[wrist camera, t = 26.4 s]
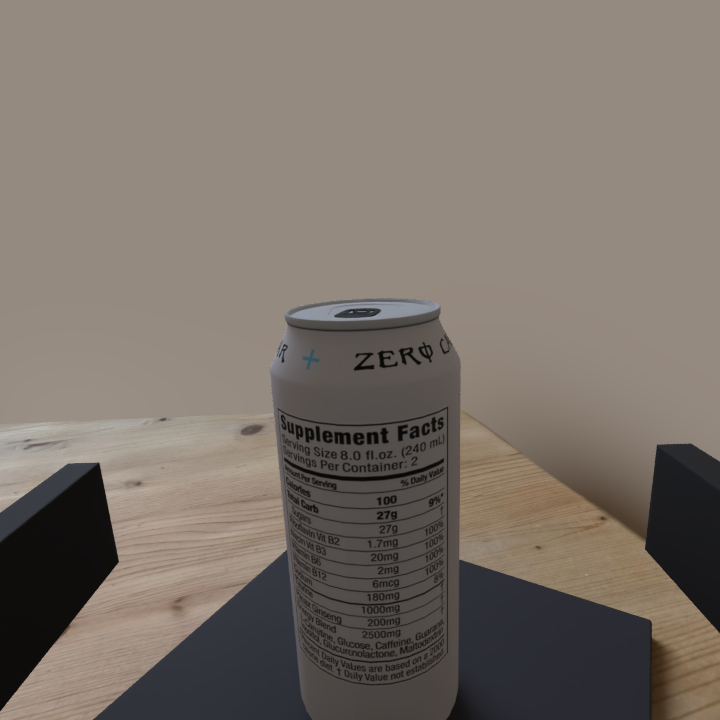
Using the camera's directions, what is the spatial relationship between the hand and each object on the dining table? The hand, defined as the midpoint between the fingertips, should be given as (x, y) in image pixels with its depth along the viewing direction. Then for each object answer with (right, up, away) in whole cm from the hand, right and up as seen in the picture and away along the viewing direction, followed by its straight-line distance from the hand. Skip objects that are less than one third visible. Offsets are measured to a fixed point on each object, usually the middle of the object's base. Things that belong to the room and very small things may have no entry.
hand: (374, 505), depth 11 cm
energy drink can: (0, -10, +7) cm, 12 cm away
